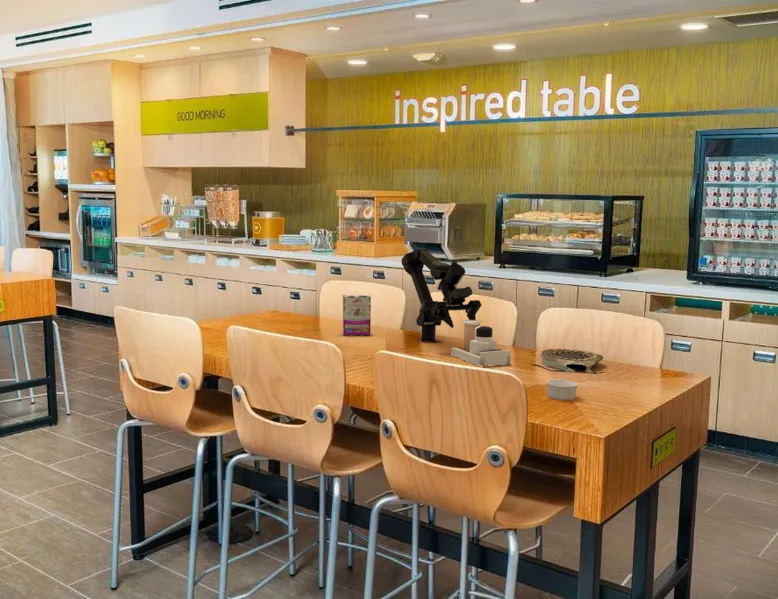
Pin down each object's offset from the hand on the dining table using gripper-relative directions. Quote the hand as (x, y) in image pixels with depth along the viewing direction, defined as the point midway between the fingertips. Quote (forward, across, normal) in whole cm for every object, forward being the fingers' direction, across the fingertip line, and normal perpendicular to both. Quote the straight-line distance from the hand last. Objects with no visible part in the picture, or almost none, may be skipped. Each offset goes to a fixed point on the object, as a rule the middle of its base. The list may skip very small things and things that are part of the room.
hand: (463, 326), depth 287 cm
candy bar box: (-26, -22, +42) cm, 54 cm away
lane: (+15, 0, -2) cm, 16 cm away
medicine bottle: (+17, 0, -3) cm, 17 cm away
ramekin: (+52, -4, -39) cm, 65 cm away
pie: (+28, +27, -13) cm, 41 cm away
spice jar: (+11, 0, +3) cm, 12 cm away
